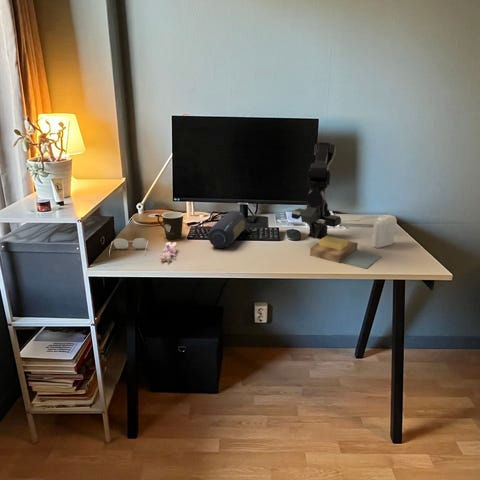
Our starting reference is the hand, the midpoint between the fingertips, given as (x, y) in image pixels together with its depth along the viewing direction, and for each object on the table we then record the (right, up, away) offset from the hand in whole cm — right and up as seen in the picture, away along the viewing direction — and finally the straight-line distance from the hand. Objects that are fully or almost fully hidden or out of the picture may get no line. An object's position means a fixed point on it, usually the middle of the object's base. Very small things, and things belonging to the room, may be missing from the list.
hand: (314, 238), depth 181 cm
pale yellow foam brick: (+7, -3, -4) cm, 8 cm away
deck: (+7, -6, -3) cm, 9 cm away
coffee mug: (-58, 0, +13) cm, 59 cm away
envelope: (+23, +7, +33) cm, 41 cm away
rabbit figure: (-56, -7, -7) cm, 57 cm away
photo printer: (+28, -3, +5) cm, 29 cm away
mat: (+16, -8, -9) cm, 20 cm away
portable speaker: (-34, -1, +10) cm, 35 cm away
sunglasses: (-72, -6, -4) cm, 72 cm away
